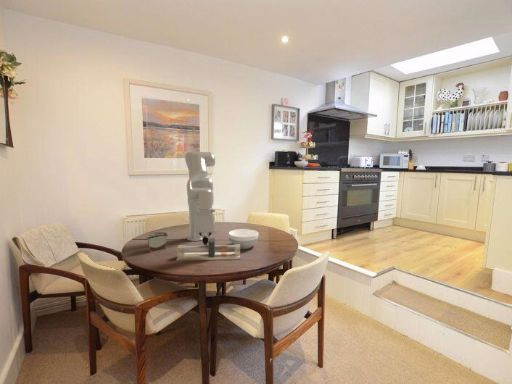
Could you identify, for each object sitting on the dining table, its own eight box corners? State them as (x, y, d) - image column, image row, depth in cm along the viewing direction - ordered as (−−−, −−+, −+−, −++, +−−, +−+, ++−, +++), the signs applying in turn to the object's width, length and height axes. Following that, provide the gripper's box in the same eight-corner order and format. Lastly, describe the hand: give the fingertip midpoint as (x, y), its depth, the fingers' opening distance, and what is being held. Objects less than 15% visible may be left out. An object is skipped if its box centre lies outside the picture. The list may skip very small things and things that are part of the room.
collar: (209, 252, 142) (209, 238, 142) (215, 252, 143) (214, 238, 142) (208, 256, 135) (208, 242, 134) (214, 256, 136) (214, 242, 135)
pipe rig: (180, 254, 142) (179, 243, 141) (239, 253, 145) (239, 242, 144) (176, 260, 133) (176, 249, 132) (240, 259, 136) (240, 247, 136)
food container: (163, 246, 156) (163, 230, 155) (168, 248, 152) (167, 232, 151) (143, 250, 147) (142, 234, 146) (147, 253, 143) (147, 236, 142)
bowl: (223, 248, 153) (223, 234, 153) (236, 240, 171) (236, 227, 170) (251, 252, 147) (251, 238, 146) (262, 243, 164) (262, 230, 163)
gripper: (219, 210, 141) (219, 242, 142) (192, 210, 139) (192, 242, 141) (218, 212, 133) (218, 246, 135) (190, 213, 132) (190, 246, 134)
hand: (205, 244), depth 138 cm, fingers closed
